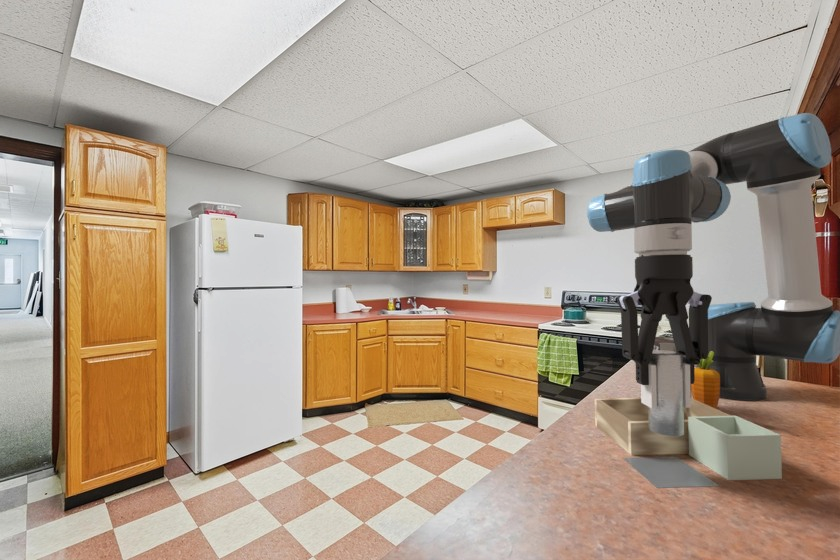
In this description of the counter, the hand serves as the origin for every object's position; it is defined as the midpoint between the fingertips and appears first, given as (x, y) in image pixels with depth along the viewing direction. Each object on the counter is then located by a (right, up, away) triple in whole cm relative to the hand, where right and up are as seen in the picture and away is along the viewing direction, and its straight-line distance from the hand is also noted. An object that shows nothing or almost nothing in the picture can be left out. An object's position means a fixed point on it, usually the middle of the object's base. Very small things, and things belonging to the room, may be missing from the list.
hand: (665, 404), depth 59 cm
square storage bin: (+11, -11, +1) cm, 16 cm away
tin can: (0, -4, 0) cm, 4 cm away
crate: (+7, -11, +12) cm, 18 cm away
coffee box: (+19, -11, +29) cm, 36 cm away
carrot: (+21, -11, +20) cm, 31 cm away
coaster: (0, -11, 0) cm, 11 cm away
